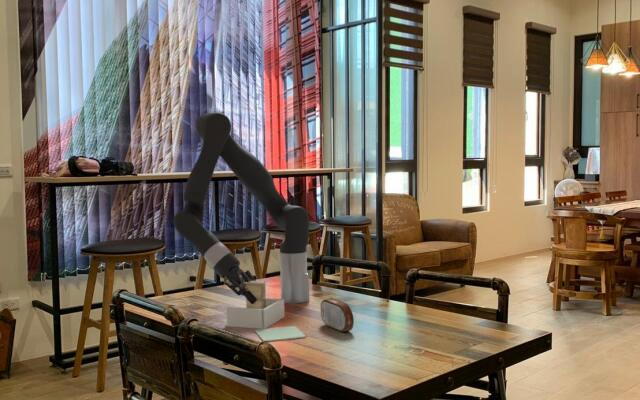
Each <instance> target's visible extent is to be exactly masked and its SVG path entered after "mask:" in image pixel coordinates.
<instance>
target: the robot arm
mask: <svg viewBox="0 0 640 400" xmlns="http://www.w3.org/2000/svg"><path fill="white" fill-rule="evenodd" d="M195 125H196V126H195V128H196V132H197V134H198V136H199V137H200V138H201V139H202V140H203V143H202V147H201V150H200V153H199V156H198V158H197V160H196V162H195V163H194V165H193V168H192V169H191V171H190V174H189V176H188V178H187V181H186V185H185V189H184V191H183V198H182V199H183V201H184V207H183V210H180V211H178V212H177V213H176V214H175V215H174V217H173V222H172V223H173V226H174V229H175V230H176V231H177V232H178V233H179V234H180V235H181V236H182V237H183V238H184V239H185V240H187V241H188V242H189V243H190V244H191V245H192V246H194V248H195V249H196V251H197V252H198V253H200V254H199V255H201V256H202V257H203V258H204V259H205V261H206V263H207V264H208V265H209V266H210V267H211V268H212V269H213V271H215V273H216V274H217V275H218V276H219V277H220V278H221V279H222V280H223V279H227V280H226V281H225V282H224V285H225V286H226V287H228V289H230V290H231V291H232V292H233V293H235V294H236V295H237V296H242V297H245V300H246V299H247V300H248V301H249V302H250V303H251V304H254V303H255V302H256V301H257V298H256V297H255V296H254V295H253V294H252V293H251V292H250V291H249V290H248V288H247V287H246V283H248V282H250V281H257V280H256V279H255V277H254V276H253V274H252V273H251V272H250V271H249V270H248V269H247V270H246V271H244V270H243V269H241V268H240V266H241V261H239V260H238V258H237V257H236V256H235V255H234V254H233V253H232V252H231V250H230V249H229V248H228V247H227V246H226V245H224V243H222V242H221V241H220V240H219V239H218V237H217V236H216V235H215V234H214V233H212V231H210V230H208V229H207V228H206V227H204V225H202V224H203V221H204V220H203V219H204V214H205V213H204V212H205V202H206V199H207V196H208V192H209V189H210V186H211V180H212V178H213V175H214V173H215V169H216V166H217V164H218V161H219V159H220V158H221V160H223V161H224V163H225V164H226V165H227V166H228V168H229V169H230V170H231V172H232V173H233V174H234V175H235V177H236V178H237V179H238V180H239V181H240V182H241V183H242V184H243V186H244V187H245V188H246V189H247V190H248V191H249V192H250V194H251V195H253V197H254V198H255V199H256V200H257V201H258V202H259V204H261V205H262V207H263V208H264V209H265V211H266V212H267V213H268V215H269V216H270V217H271V219H272V220H273V223H275V225H276V227H278V229H280V230H282V231H284V240H283V242H281V243H280V244H279V261H280V262H279V266H280V268H279V269H280V299H284V304H301V303H307V302H310V274H309V273H308V263H307V262H308V261H307V260H308V259H307V258H308V257H307V256H308V255H307V254H308V253H307V251H308V250H307V247H308V245H309V240H310V239H309V238H310V237H309V236H310V235H309V234H310V218H309V214H308V212H307V210H306V209H305V208H304V207H302V206H299V205H291V204H290V203H289V202H288V201H287V200H286V199H284V197H283V196H282V195H281V194H280V193H279V192H278V190H277V188H276V185H275V182H274V179H273V177H272V174H271V173H270V172H269V170H268V169H267V168H266V166H264V164H263V163H262V162H261V161H260V160H259V159H258V158H257V157H256V156H255V155H254V154H252V152H251V151H248V150H247V149H246V148H244V147H243V146H242V145H240V143H238V142H237V141H236V140H235V139H234V138H233V136H232V135H231V130H232V122H231V119H230V118H229V117H228V116H227V115H226V114H224V113H222V112H208V113H204V114H202V115H200V116H199V117H198V118H197V121H196V123H195Z"/></svg>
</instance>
